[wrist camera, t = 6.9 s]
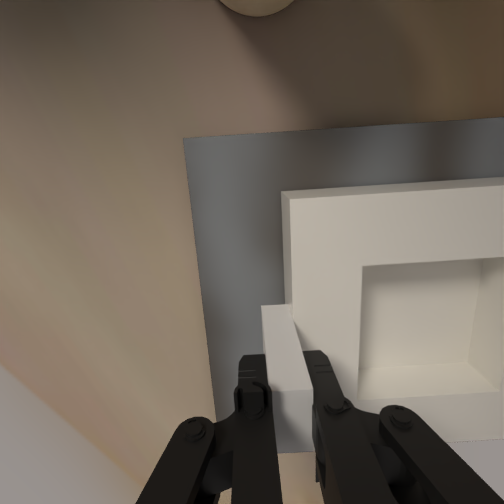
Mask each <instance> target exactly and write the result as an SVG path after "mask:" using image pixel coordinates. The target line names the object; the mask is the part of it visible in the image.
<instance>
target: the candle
mask: <svg viewBox="0 0 504 504" xmlns="http://www.w3.org/2000/svg"><path fill="white" fill-rule="evenodd" d="M220 1H221V2H222V3H223V4H224V5H226V6H227V7H228V8H230V9H231V10H233V11H235V12H237V13H240V14H243V15H246V16H253V17H262V16H268V15H271V14H274V13H276V12H279V11H281V10H282V9H284V8H285V7H287V6H288V5H289V4H290V3H292V2H293V1H294V0H220Z"/></svg>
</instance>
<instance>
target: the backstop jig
mask: <svg viewBox="0 0 504 504" xmlns="http://www.w3.org/2000/svg"><path fill="white" fill-rule="evenodd" d="M183 143H184V151H185V160H186V168H187V177H188V185H189V194H190V202H191V210H192V219H193V227H194V236H195V244H196V253H197V261H198V269H199V278H200V286H201V295H202V303H203V312H204V320H205V328H206V337H207V345H208V354H209V362H210V371H211V379H212V387H213V396H214V404H215V413H216V421H217V422H219V421H222V420H224V419H226V418H227V417H229V416H230V415H231V414H232V413H233V412H234V411H235V406H234V394H233V393H234V390H235V388H236V387H237V386H238V367H239V361H240V360H241V358H242V357H243V355H252V354H264V351H263V333H262V312H261V306H264V305H282V304H285V288H284V260H283V232H282V205H281V191H294V190H309V189H324V188H340V187H355V186H370V185H386V184H401V183H416V182H431V181H447V180H462V179H477V178H493V177H504V117H498V118H483V119H468V120H453V121H438V122H423V123H407V124H392V125H377V126H362V127H347V128H331V129H316V130H301V131H286V132H271V133H256V134H240V135H225V136H210V137H195V138H183Z"/></svg>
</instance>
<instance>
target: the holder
mask: <svg viewBox="0 0 504 504" xmlns="http://www.w3.org/2000/svg"><path fill="white" fill-rule="evenodd" d="M281 205H282V232H283V260H284V288H285V304H288V305H289V308H290V312H291V315H292V319H293V321H294V325H295V328H296V332H297V335H298V339H299V342H300V345H301V349H302V351H310V350H321V351H322V352H323V353H324V354H326V355H327V356H328V358H329V361H330V363H331V366H332V368H333V370H334V373H335V375H336V378H337V380H338V382H339V385H340V387H341V390H342V392H343V395H344V397H346V398H347V399H349V400H350V401H351V402H352V404H353V405H354V407H355V408H357V409H360V410H362V411H366V412H370V413H375V414H380V411H381V410H382V408H384V407H386V406H387V405H399V406H404V407H406V408H408V409H411V410H412V411H413V412H415V413H416V414H417V415H419V416H420V417H421V418H422V419H423V420H424V421H425V422H426V423H427V424H428V425H429V426H430V427H431V428H432V429H433V430H434V431H435V432H436V433H437V434H438V435H439V436H440V437H441V438H442V439H443V440H444V441H445V442H446V443H450V442H466V441H482V440H497V439H504V177H493V178H477V179H462V180H447V181H431V182H416V183H401V184H386V185H370V186H355V187H340V188H324V189H309V190H294V191H281ZM313 451H315V448H314V444H313Z"/></svg>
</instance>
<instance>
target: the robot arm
mask: <svg viewBox="0 0 504 504" xmlns="http://www.w3.org/2000/svg"><path fill="white" fill-rule="evenodd" d="M261 312H262V333H263V351H264V354H252V355H243V357H242V358H241V360H240V361H239V367H238V386H237V387H236V388H235V390H234V393H233V394H234V406H235V411H234V412H233V413H232V414H231V415H230V416H229V417H227V418H226V419H224V420H222V421H219V422H216V423H212V422H211V421H210V420H209V419H207V418H204V417H193V418H190V419H187V420H185V421H184V422H182V423H181V424H180V425H179V426H178V428H177V429H176V430H175V432H174V434H173V436H172V438H171V439H170V441H169V443H168V445H167V447H166V449H165V450H164V452H163V454H162V456H161V458H160V460H159V461H158V463H157V465H156V467H155V469H154V471H153V472H152V474H151V476H150V478H149V480H148V482H147V483H146V485H145V487H144V489H143V491H142V493H141V494H140V496H139V498H138V500H137V502H136V504H218V501H219V498H220V493H221V492H222V491H224V490H227V489H229V488H232V495H231V504H283V502H282V492H281V483H280V474H279V464H278V455H277V453H296V452H313V444H314V448H315V452H316V482H320V486H321V491H322V495H323V500H324V504H504V500H503V499H502V498H501V497H500V496H498V495H497V494H496V493H495V492H494V491H493V490H492V488H491V487H490V486H488V484H487V483H485V481H484V480H483V479H481V477H480V476H479V475H477V474H476V473H475V472H474V470H473V469H472V468H471V467H470V466H469V465H467V463H466V462H465V461H464V460H463V459H461V457H460V456H459V455H458V454H457V453H456V452H454V450H453V449H451V447H450V446H449V445H448V444H447V443H446V442H445V441H444V440H443V439H442V438H441V437H440V436H439V435H438V434H437V433H436V432H435V431H434V430H433V429H432V428H431V427H430V426H429V425H428V424H427V423H426V422H425V421H424V420H423V419H422V418H421V417H420V416H419V415H417V414H416V413H415V412H413V411H412V410H411V409H408V408H406V407H404V406H399V405H387V406H386V407H384V408H382V410H381V411H380V414H375V413H370V412H366V411H362V410H360V409H357V408H355V407H354V405H353V404H352V402H351V401H350V400H349V399H347V398H346V397H344V395H343V392H342V390H341V387H340V385H339V382H338V380H337V378H336V375H335V373H334V370H333V368H332V366H331V363H330V361H329V358H328V356H327V355H326V354H324V353H323V352H322V351H321V350H310V351H302V349H301V345H300V342H299V339H298V335H297V332H296V328H295V325H294V321H293V319H292V315H291V312H290V308H289V305H288V304H282V305H264V306H261Z"/></svg>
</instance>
